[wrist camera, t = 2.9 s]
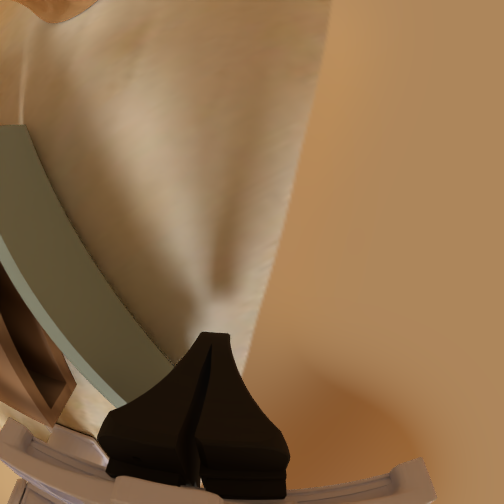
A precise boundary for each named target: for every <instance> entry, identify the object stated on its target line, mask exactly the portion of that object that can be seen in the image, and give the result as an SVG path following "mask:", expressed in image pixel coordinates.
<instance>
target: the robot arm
mask: <svg viewBox="0 0 504 504" xmlns="http://www.w3.org/2000/svg"><path fill="white" fill-rule="evenodd" d="M45 426H46V427H47V429H48V430H49V431H50V432H51V435H50V437H49V439H48V441H47V443H46V442H44V441H42V440H40V439H38V438H36V437H34V436H33V434H32V433H31V432H30V431H29V430H28V429H27V428H26V427H25V426H24V425H22V424H20V423H19V422H17V421H15V420H13V419H12V418H8V420H7V421H6V423H5V425H4V426H3V428H2V430H1V431H0V460H1V461H2V462H3V463H5V464H6V465H7V466H8V467H9V468H10V469H11V470H12V471H14V472H15V473H16V474H17V475H19V476H20V477H22V479H17V482H16V484H15V486H14V489H13V491H12V494H11V496H10V499H9V501H8V504H430V503H432V502H433V501H435V500H436V499H437V495H436V493H435V490H434V487H433V484H432V482H431V479H430V476H429V474H428V471H427V469H426V466H425V463H424V461H423V458H417V459H414V460H411V461H408V462H405V463H402V464H399V465H397V466H396V467H394V468H393V469H392V470H391V471H390V473H387V474H383V475H380V476H376V477H372V478H367V479H363V480H359V481H354V482H349V483H343V484H337V485H331V486H324V487H316V488H307V489H297V490H286V480H285V479H286V468H287V466H288V463H289V461H290V453H289V449H288V446H287V444H286V441H285V439H284V437H283V435H282V433H281V431H280V430H279V429H278V428H277V427H276V426H275V425H274V424H273V423H272V422H271V421H270V420H269V419H268V418H267V416H266V415H265V414H264V413H263V412H262V410H261V409H260V408H259V406H258V405H257V403H256V402H255V401H254V399H253V398H252V396H251V395H250V393H249V391H248V390H247V388H246V386H245V384H244V382H243V380H242V378H241V376H240V374H239V371H238V369H237V366H236V363H235V360H234V357H233V354H232V350H231V345H230V335H229V334H228V333H212V332H201V333H200V334H199V336H198V338H197V339H196V341H195V342H194V344H193V345H192V347H191V348H190V349H189V351H188V352H187V353H186V355H185V356H184V357H183V358H182V360H181V361H180V362H179V363H178V364H177V365H176V366H175V367H174V368H173V370H172V371H171V372H170V373H169V374H168V375H166V376H165V377H164V378H163V379H162V380H161V381H160V382H159V383H157V384H156V385H155V386H154V387H152V388H151V389H150V390H148V391H147V392H146V393H144V394H142V395H141V396H139V397H138V398H136V399H134V400H133V401H131V402H129V403H127V404H125V405H123V406H121V407H119V408H117V409H115V410H112V411H110V412H109V413H108V415H107V417H106V418H105V420H104V422H103V424H102V426H101V428H100V431H99V433H98V436H97V440H98V442H99V444H100V445H101V447H102V448H103V449H104V451H105V452H106V453H107V454H108V456H109V457H110V459H109V457H108V456H107V455H106V454H105V452H104V451H103V450H102V448H101V447H100V446H99V444H98V443H97V442H96V440H95V439H94V438H92V437H89V436H87V435H84V434H81V433H78V432H76V431H73V430H70V429H68V428H65V427H63V426H60V425H58V424H56V423H55V425H54V427H53V428H51V427H49V426H47V425H45ZM200 480H202V483H203V485H204V488H200ZM27 481H28V482H27ZM26 482H27V483H26Z"/></svg>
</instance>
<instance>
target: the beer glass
mask: <svg viewBox="0 0 504 504" xmlns="http://www.w3.org/2000/svg"><path fill="white" fill-rule="evenodd" d="M12 1H15V2H18V3H20V4H22V5H24V6H26V7H27V8H28V9H30V10H31V11H32V12H33V13H34V14H35V15H37V16H38V17H39V18H40V19H42V20H43V21H45V22H47V23H60V22H63V21H66V20H69V19H71V18H73V17H75V16H77V15H78V14H80V13H82V12H83V11H85V10H86V9H87V8H89V7H90V6H91V5H93V4H94V3H95V2H96V1H98V0H12Z"/></svg>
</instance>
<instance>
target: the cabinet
mask: <svg viewBox="0 0 504 504" xmlns="http://www.w3.org/2000/svg"><path fill="white" fill-rule="evenodd" d="M76 385H77V384H76V382H75V380H74V378H73V376H72V374H71V372H70V370H69V368H68V366H67V364H66V361H65V359H64V357H63V355H62V352H61V350H60V349H59V348H58V347H57V345H56V344H55V343H54V342H53V340H52V339H51V338H50V337H49V335H48V334H47V333H46V331H45V330H44V329H43V327H42V326H41V325H40V323H39V322H38V321H37V319H36V318H35V316H34V315H33V314H32V312H31V311H30V309H29V308H28V306H27V305H26V303H25V302H24V300H23V299H22V297H21V296H20V294H19V292H18V291H17V289H16V288H15V286H14V284H13V283H12V281H11V279H10V278H9V276H8V274H7V272H6V271H5V269H4V267H3V265H2V263H1V261H0V401H2V402H3V403H5V404H7V405H8V406H10V407H12V408H14V409H15V410H17V411H19V412H21V413H23V414H24V415H26V416H28V417H30V418H32V419H34V420H36V421H38V422H40V423H42V424H44V425H47V426H49V427H51V428H53V427H54V425H55V423H56V421H57V419H58V418H59V416H60V414H61V412H62V410H63V408H64V407H65V405H66V403H67V401H68V399H69V398H70V396H71V394H72V392H73V391H74V389H75V387H76Z"/></svg>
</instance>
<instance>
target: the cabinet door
mask: <svg viewBox="0 0 504 504" xmlns="http://www.w3.org/2000/svg"><path fill="white" fill-rule="evenodd" d="M0 261H1V263H2V265H3V267H4V269H5V271H6V272H7V274H8V276H9V278H10V279H11V281H12V283H13V284H14V286H15V288H16V289H17V291H18V292H19V294H20V296H21V297H22V299H23V300H24V302H25V303H26V305H27V306H28V308H29V309H30V311H31V312H32V314H33V315H34V316H35V318H36V319H37V321H38V322H39V323H40V325H41V326H42V327H43V329H44V330H45V331H46V333H47V334H48V335H49V337H50V338H51V339H52V340H53V342H54V343H55V344H56V345H57V347H58V348H59V349H60V350H61V351H62V353H63V354H64V355H65V356H66V357H67V358H68V360H69V361H70V362H71V363H72V364H73V365H74V366H75V367H76V369H77V370H78V371H79V372H80V373H81V374H82V375H83V376H84V377H85V378H86V379H87V380H88V381H89V382H90V383H91V384H92V385H93V386H94V387H95V388H96V389H97V390H98V391H99V392H100V393H101V394H102V395H103V396H104V397H105V398H106V399H107V400H108V401H109V402H110V403H111V404H113V405H114V406H115V407H116V408H119V407H121V406H123V405H125V404H127V403H129V402H131V401H133V400H134V399H136V398H138V397H139V396H141V395H142V394H144V393H146V392H147V391H148V390H150V389H151V388H152V387H154V386H155V385H156V384H157V383H159V382H160V381H161V380H162V379H163V378H164V377H165V376H166V375H168V374H169V373H170V372H171V371H172V370H173V368H174V366H173V365H172V364H171V363H170V362H169V361H168V360H167V358H166V357H165V356H164V355H163V354H162V353H161V352H160V350H159V349H158V348H157V347H156V346H155V344H154V343H153V342H152V341H151V340H150V338H149V337H148V336H147V335H146V334H145V332H144V331H143V330H142V329H141V327H140V326H139V325H138V324H137V322H136V321H135V320H134V318H133V317H132V316H131V314H130V313H129V312H128V311H127V309H126V308H125V306H124V305H123V304H122V302H121V301H120V300H119V298H118V297H117V296H116V294H115V293H114V291H113V290H112V288H111V287H110V286H109V284H108V283H107V281H106V280H105V278H104V277H103V275H102V274H101V272H100V271H99V269H98V268H97V266H96V265H95V263H94V262H93V260H92V258H91V257H90V255H89V254H88V252H87V250H86V249H85V247H84V245H83V244H82V242H81V240H80V239H79V237H78V235H77V234H76V232H75V230H74V228H73V227H72V225H71V223H70V221H69V219H68V218H67V216H66V214H65V212H64V210H63V208H62V206H61V204H60V203H59V201H58V199H57V197H56V195H55V193H54V191H53V189H52V186H51V184H50V182H49V180H48V178H47V176H46V174H45V171H44V169H43V167H42V165H41V162H40V160H39V158H38V155H37V153H36V150H35V148H34V145H33V143H32V140H31V138H30V135H29V132H28V130H27V127H26V125H3V126H0Z"/></svg>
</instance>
